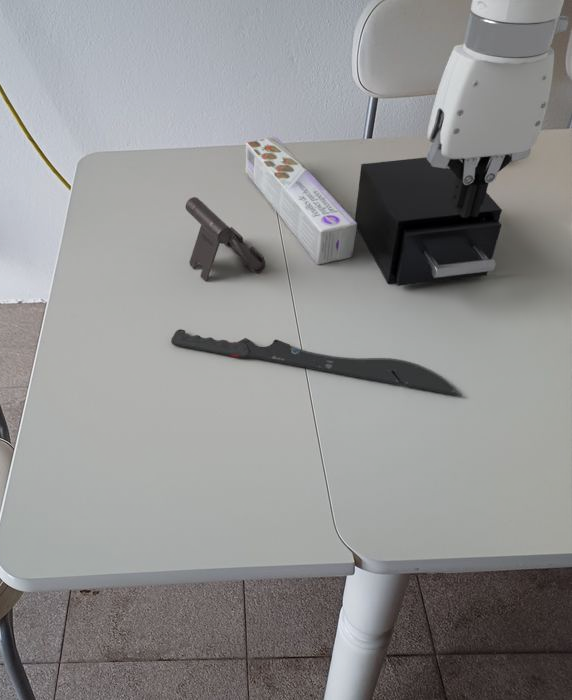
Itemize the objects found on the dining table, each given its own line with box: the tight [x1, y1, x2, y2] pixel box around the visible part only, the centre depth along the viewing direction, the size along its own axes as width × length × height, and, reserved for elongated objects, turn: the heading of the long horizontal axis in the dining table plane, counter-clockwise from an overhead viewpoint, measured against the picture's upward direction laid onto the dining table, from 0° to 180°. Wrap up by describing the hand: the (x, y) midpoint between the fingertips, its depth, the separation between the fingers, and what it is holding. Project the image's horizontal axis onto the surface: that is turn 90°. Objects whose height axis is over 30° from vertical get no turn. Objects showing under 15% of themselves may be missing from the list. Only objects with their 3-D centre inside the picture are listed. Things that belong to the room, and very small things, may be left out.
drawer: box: [395, 217, 502, 287], centre depth 81 cm, size 18×11×7 cm, turn 8°
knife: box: [170, 328, 462, 396], centre depth 71 cm, size 32×4×1 cm, turn 72°
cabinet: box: [354, 156, 503, 285], centre depth 84 cm, size 15×13×9 cm
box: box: [245, 136, 358, 265], centre depth 93 cm, size 27×5×6 cm, turn 19°
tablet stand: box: [185, 196, 266, 282], centre depth 83 cm, size 9×8×8 cm
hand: (464, 210), depth 71 cm, fingers closed
